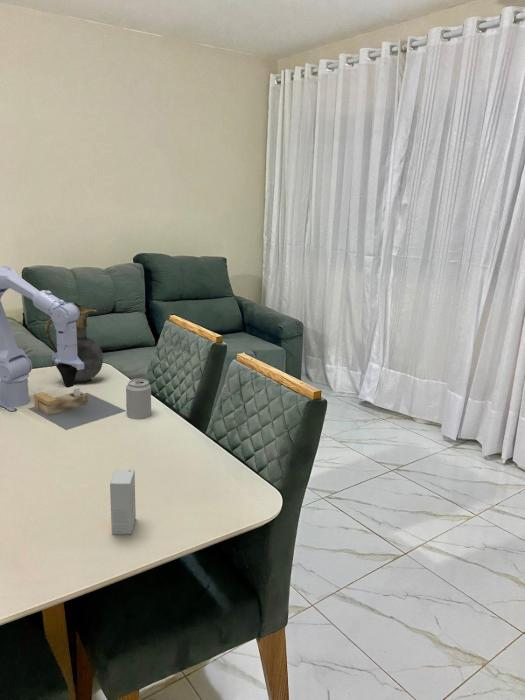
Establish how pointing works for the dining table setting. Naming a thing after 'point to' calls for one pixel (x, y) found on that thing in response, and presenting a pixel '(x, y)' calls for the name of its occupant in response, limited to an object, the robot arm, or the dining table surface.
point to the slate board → (76, 410)
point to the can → (138, 399)
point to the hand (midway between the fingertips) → (69, 386)
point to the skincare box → (123, 501)
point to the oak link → (64, 403)
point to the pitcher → (83, 348)
